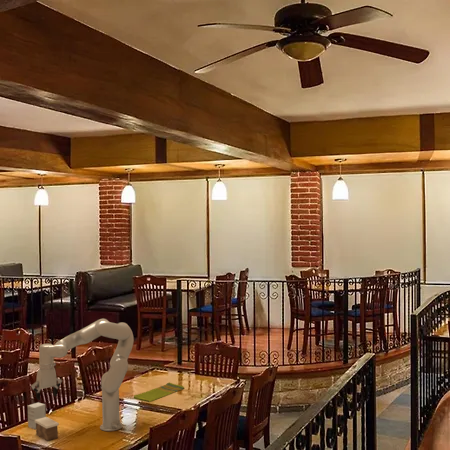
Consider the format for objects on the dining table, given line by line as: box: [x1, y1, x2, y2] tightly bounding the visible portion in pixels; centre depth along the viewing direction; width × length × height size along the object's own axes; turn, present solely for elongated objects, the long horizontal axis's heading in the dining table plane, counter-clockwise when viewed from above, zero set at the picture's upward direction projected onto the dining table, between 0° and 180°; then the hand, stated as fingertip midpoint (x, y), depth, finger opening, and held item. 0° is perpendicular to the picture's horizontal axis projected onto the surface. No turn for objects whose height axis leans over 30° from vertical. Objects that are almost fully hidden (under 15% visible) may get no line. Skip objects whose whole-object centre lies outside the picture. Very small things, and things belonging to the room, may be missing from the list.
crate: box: [35, 423, 59, 442], centre depth 310 cm, size 14×6×7 cm, turn 42°
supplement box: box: [27, 401, 47, 430], centre depth 326 cm, size 7×7×13 cm
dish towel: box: [133, 381, 185, 403], centre depth 385 cm, size 15×36×3 cm, turn 144°
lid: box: [35, 416, 60, 429], centre depth 310 cm, size 15×7×2 cm, turn 42°
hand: (46, 397), depth 311 cm, fingers open, 9 cm apart
